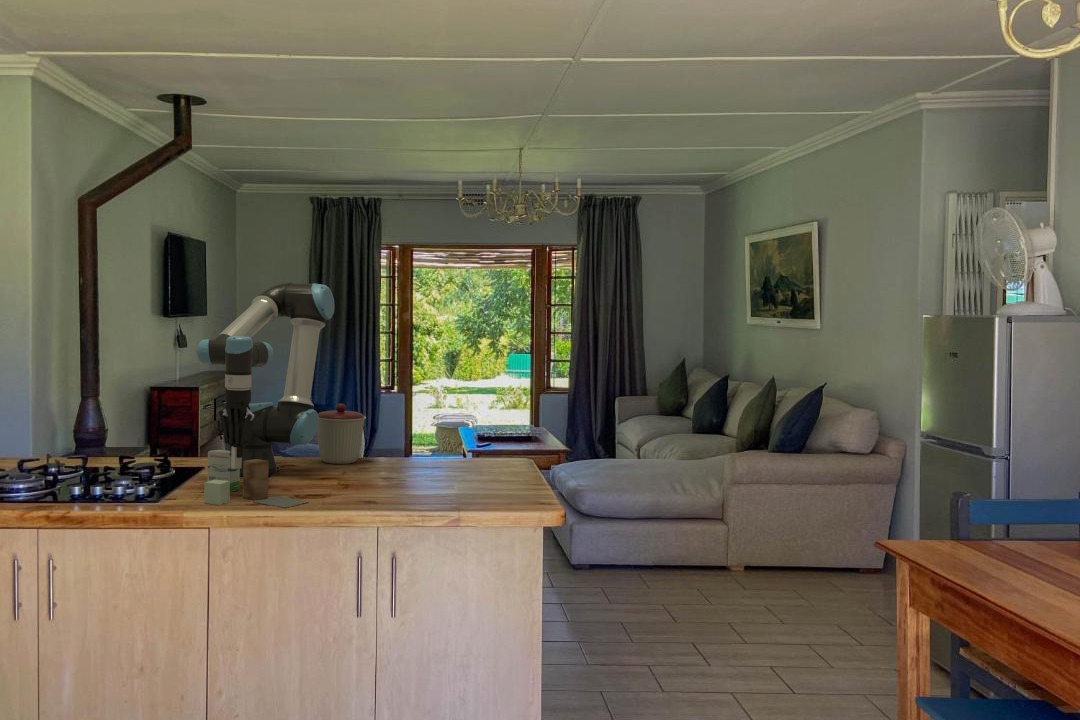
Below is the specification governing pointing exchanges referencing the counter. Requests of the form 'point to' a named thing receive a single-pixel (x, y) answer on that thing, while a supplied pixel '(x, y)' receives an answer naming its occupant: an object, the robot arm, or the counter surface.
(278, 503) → the mat
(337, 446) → the canister
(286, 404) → the robot arm
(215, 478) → the ink box
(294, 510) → the counter surface
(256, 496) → the walnut block
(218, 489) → the sage block
